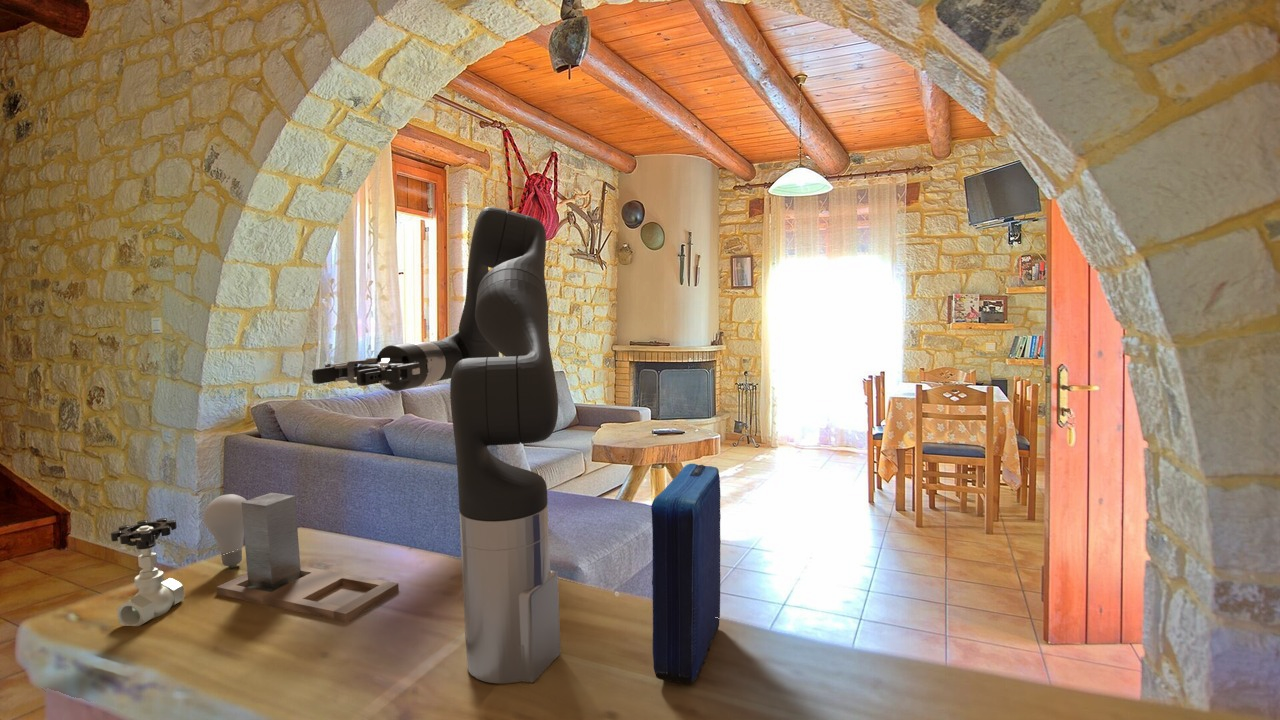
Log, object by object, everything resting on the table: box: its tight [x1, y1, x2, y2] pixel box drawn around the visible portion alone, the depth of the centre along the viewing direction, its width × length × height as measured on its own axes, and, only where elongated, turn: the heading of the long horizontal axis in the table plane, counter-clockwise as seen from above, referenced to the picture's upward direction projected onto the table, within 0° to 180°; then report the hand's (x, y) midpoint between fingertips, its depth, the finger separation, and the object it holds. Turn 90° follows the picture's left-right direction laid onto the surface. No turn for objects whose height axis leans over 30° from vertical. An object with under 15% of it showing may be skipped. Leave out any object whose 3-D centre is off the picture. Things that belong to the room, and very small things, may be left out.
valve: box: [110, 517, 185, 627], centre depth 85 cm, size 7×7×12 cm
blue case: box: [650, 463, 722, 685], centre depth 74 cm, size 14×5×20 cm, turn 162°
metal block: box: [241, 492, 301, 592], centre depth 92 cm, size 4×4×12 cm
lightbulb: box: [203, 493, 247, 568], centre depth 101 cm, size 6×6×11 cm
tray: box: [216, 565, 400, 623], centre depth 91 cm, size 22×9×2 cm, turn 68°
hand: (336, 377), depth 100 cm, fingers open, 8 cm apart
